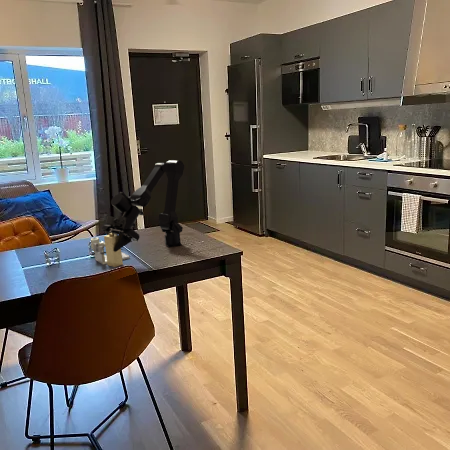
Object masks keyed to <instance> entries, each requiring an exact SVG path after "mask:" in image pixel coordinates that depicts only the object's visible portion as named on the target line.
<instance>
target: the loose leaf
mask: <svg viewBox="0 0 450 450" xmlns="http://www.w3.org/2000/svg"><path fill="white" fill-rule="evenodd" d="M103 239H104V240H103V242H104V243H105V247H104V249H105V253H106V255H105V256H107V264H106V265H107V266H110V267H113V268H116V267H119V266H122V265H124V263H123V261H124V260H122V253H121V252H122V248H121V249H119V250H118V251H116V252H115V251H114V248H115V246H116V244H117V242H118V240H119V234H118V235H115V234H114V233H109V235H107V234H106V235H104V236H103Z"/></svg>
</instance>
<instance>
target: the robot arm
mask: <svg viewBox="0 0 450 450" xmlns="http://www.w3.org/2000/svg"><path fill="white" fill-rule="evenodd" d="M184 170H185V164H184V163H183V161H182V160H174V159H171V160H170V159H169V160H168V161H166V162H157V163H155V165H154V168H152V170H151V172H150V173H149V175H148V176H147V178H146V179H145V181H144V182H143V184H142V185H141V186H140V187H138V188H137V189H135V190H134V191H133V192H132V194H131V195H130V196H127V194H125V192H124V191H123V192H122V191H119V192H118V194H116V195H114V196H113V197H112V198H111V200H110V204H111V205H112V206H113V207H114V208H115V209H116V210H117V211H118V212H120V213H123V214H122V215H117V216H109V215H107V217H106V221H105V224H104V225H103V227H102V228H101V231H103V232H104V233H105V234H106V235H109V233H114V234H115V235H119V240H118V242H117V244H116V246H115V248H114V251H115V252H116V251H118V250H119V249H121V250H122V248H124V247H125V246H127V245H129V244H130V243H132V242H139V240H140V238H141V237H140V234H139V233H138V232H137V231H135V230H134V228H133V227H136V223H135V222H136V221H137V219H138V217H139V216H144V215H145V213H144V211H143V208H144V207H147V206H148V205H149V203H150V200H151V199H152V193H153V191H154V189H155V187H156V186H157V185H158V183H159V181H160V180H161V178H163V175H164V174H165V175H166V178H167V184H166V185H167V186H166V192H165V193H166V194H165V202H164V210H163V211H162V213H159V214H158V220H157V223H158V225H159V226H158V227H159V228H160V229H161V231H162V233H164V244H165V246H167V247H168V248H171V247H178V246H183V245H182V243H181V233H182V232H183V228H184V227H183V225H181V224H180V223H179V222H178V221H179V220H178V215H177V212H176V207H177V198H178V189H179V182H180V179H181V178H182V176H183V174H184ZM140 207H141V208H140ZM142 207H143V208H142ZM132 228H133V229H132Z"/></svg>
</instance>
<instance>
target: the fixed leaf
mask: <svg viewBox="0 0 450 450" xmlns="http://www.w3.org/2000/svg"><path fill="white" fill-rule="evenodd" d="M93 247H94V253H95V254H94V253H93V254H94V259H95V261H96V262H98V263H99V264H101V265H104V266H105V265H108V264H107V256H106V255H105V247H103V246H99V248H98V243H94V244H93ZM98 250H99V251H98ZM121 253H122V261H125V260H129V259H130V255H128V254H127V253H125V252H122V251H121Z"/></svg>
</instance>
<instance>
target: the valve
mask: <svg viewBox="0 0 450 450" xmlns="http://www.w3.org/2000/svg"><path fill="white" fill-rule="evenodd" d="M90 243H91V244H90V248H91V250H92V249H93V251H94V247H93V244H94V243H98V248H99V246H103V247H104V248H105V241H101V242H100V238H99V237H92V238H90ZM98 251H99V250H98Z"/></svg>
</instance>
